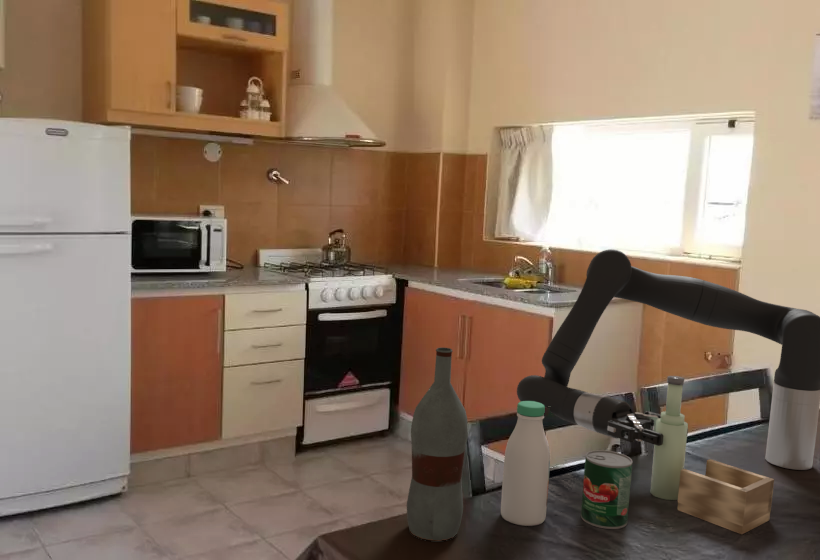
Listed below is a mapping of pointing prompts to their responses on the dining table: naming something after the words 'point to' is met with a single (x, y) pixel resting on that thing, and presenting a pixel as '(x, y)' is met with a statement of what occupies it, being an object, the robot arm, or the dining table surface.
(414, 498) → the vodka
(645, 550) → the dining table surface
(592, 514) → the canned tomato
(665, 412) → the glass bottle
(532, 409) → the milk bottle
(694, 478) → the cradle
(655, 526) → the dining table surface
